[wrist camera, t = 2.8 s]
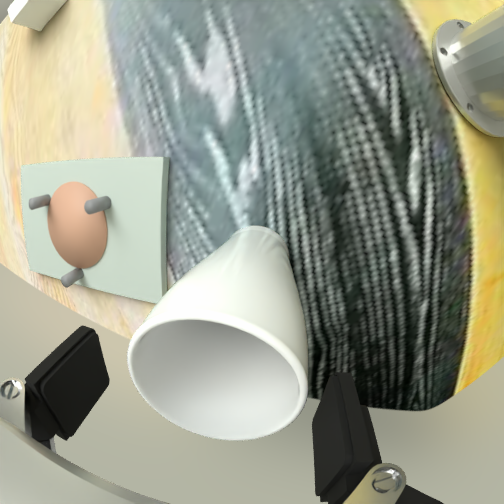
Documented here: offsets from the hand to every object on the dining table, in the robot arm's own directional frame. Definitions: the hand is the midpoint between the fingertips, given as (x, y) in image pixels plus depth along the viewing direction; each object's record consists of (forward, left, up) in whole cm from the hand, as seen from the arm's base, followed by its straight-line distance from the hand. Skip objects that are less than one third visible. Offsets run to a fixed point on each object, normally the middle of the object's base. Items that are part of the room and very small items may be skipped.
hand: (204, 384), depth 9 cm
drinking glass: (0, 0, -14) cm, 14 cm away
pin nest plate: (+18, -1, -14) cm, 23 cm away
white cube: (+31, -31, -15) cm, 46 cm away
